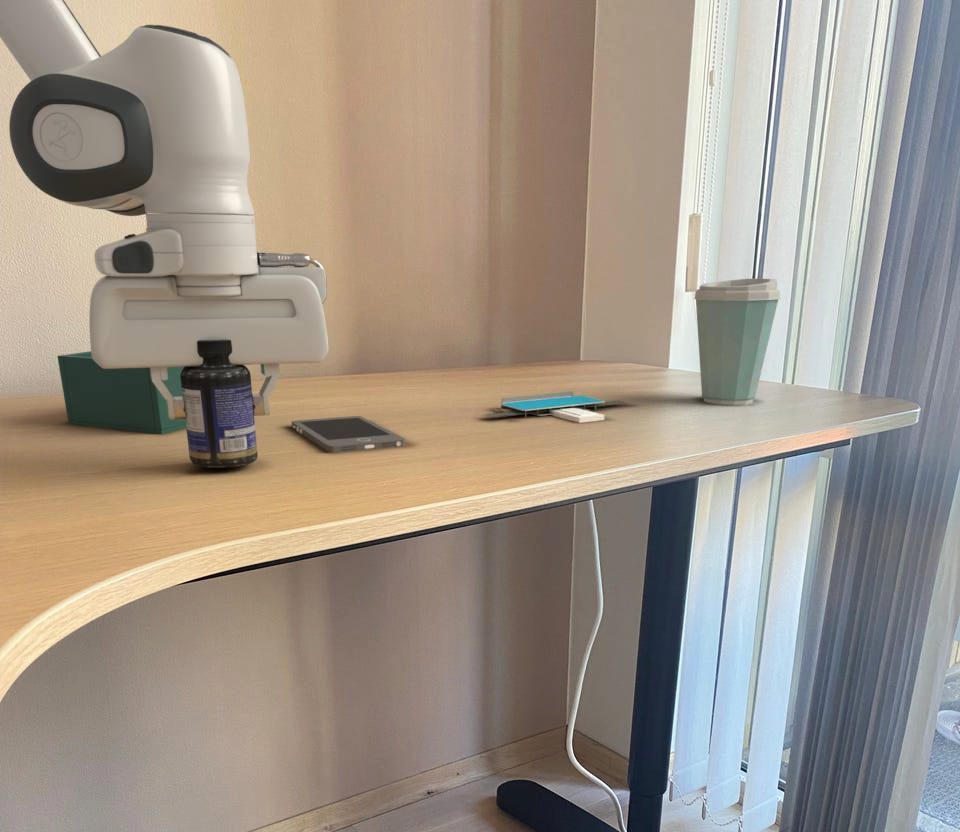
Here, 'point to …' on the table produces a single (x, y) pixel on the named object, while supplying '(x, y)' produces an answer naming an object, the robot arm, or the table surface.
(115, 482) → the table surface
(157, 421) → the open box
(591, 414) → the teal tabletop platform
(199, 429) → the pill bottle
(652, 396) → the table surface
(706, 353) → the disposable coffee cup
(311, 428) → the smartphone
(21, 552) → the table surface
